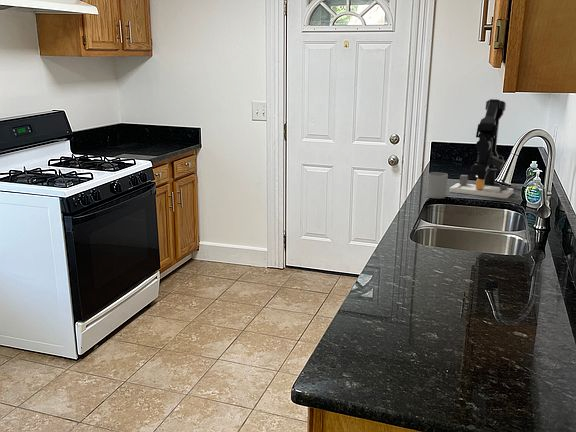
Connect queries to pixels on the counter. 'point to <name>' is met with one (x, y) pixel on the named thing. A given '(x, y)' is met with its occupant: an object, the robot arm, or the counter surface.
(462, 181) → the switch
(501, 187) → the switch
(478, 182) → the orange matte cube
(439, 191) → the cup
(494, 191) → the breaker panel
